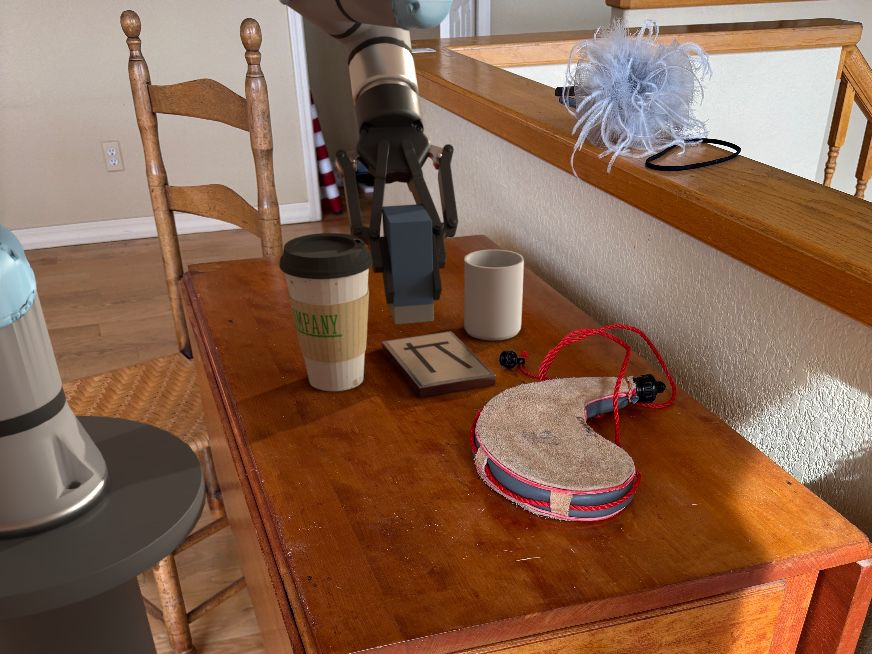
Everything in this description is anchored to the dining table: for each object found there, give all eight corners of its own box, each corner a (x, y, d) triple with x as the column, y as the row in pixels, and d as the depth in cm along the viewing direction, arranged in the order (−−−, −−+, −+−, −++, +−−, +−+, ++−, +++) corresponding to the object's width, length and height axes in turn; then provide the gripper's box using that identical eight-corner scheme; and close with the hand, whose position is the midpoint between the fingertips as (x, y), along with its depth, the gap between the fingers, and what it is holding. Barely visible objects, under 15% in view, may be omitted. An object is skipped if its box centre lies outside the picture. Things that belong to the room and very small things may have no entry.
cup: (476, 344, 114) (477, 271, 108) (448, 317, 121) (447, 247, 116) (530, 336, 116) (533, 263, 110) (498, 309, 123) (500, 240, 118)
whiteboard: (420, 397, 102) (419, 386, 101) (382, 350, 113) (381, 340, 112) (495, 384, 105) (495, 373, 104) (451, 340, 115) (451, 329, 114)
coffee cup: (284, 369, 108) (268, 237, 99) (365, 357, 111) (356, 227, 102) (304, 404, 101) (288, 264, 92) (390, 389, 104) (383, 253, 95)
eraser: (394, 324, 104) (389, 223, 98) (386, 304, 110) (381, 206, 103) (433, 321, 105) (431, 220, 98) (424, 301, 110) (421, 203, 103)
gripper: (458, 119, 110) (486, 305, 107) (309, 126, 108) (334, 317, 105) (467, 76, 103) (497, 274, 100) (307, 82, 100) (334, 286, 97)
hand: (414, 296), depth 102 cm, fingers closed on eraser, 4 cm apart
